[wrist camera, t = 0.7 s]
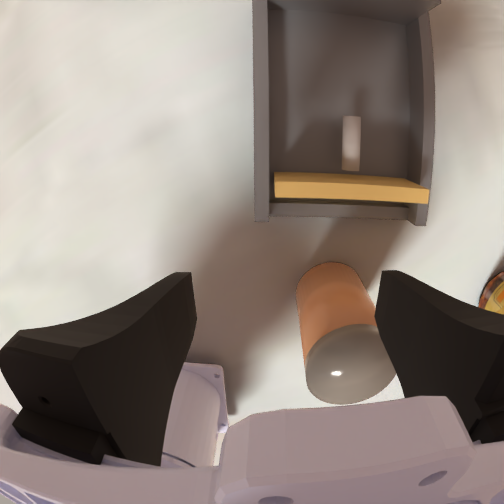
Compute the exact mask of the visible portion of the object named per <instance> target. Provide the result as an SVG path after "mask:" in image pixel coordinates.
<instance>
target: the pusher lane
mask: <svg viewBox="0 0 504 504" xmlns="http://www.w3.org/2000/svg"><path fill="white" fill-rule="evenodd" d="M440 3H441V1H440V0H252V6H253V86H254V186H255V222H269V216H300V217H343V218H373V219H398V220H408V221H410V222H411V223H412V224H414V225H415V226H426V221H427V214H428V207H429V199H430V190H431V180H432V168H433V154H434V134H435V82H434V62H433V49H432V38H431V29H430V21H429V14H428V11H429V10H431V9H432V8H434V7H436V6H437V5H439V4H440ZM343 116H357V117H361V139H360V166H359V171H347V170H342V139H343ZM274 172H304V173H332V174H352V175H368V176H382V177H394V178H404V179H407V180H409V181H411V182H414V183H416V184H418V185H420V186H423V187H425V188H427V189H429V199H428V204H421V203H407V202H392V201H374V200H353V199H326V198H280V197H275V189H274Z"/></svg>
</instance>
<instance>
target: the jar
mask: <svg viewBox="0 0 504 504" xmlns="http://www.w3.org/2000/svg"><path fill="white" fill-rule="evenodd" d="M296 302H297V310H298V317H299V325H300V333H301V340H302V348H303V357H304V365H305V373H306V382H307V386H308V389H309V390H310V392H311V393H312V394H313V395H314V396H315V397H316V398H318V399H319V400H321V401H324V402H327V403H331V404H340V405H341V404H352V403H357V402H360V401H363V400H366V399H368V398H370V397H373V396H374V395H376V394H378V393H379V392H380V391H382V390H383V389H384V388H385V387H387V386H388V384H389V383H390V382H391V381H392V380H393V378H394V377H395V375H396V371H395V369H394V367H393V364H392V362H391V360H390V358H389V356H388V353H387V351H386V349H385V347H384V344H383V342H382V340H381V338H380V335H379V331H378V328H377V324H376V321H375V317H374V315H375V310H376V308H375V306H374V304H373V302H372V300H371V298H370V296H369V294H368V292H367V291H366V289H365V287H364V285H363V283H362V281H361V279H360V278H359V276H358V274H357V273H356V272H355V271H354V270H353V269H352V268H351V267H349V266H347V265H345V264H342V263H338V262H328V263H323V264H319V265H317V266H315V267H313V268H311V269H310V270H309V271H307V272H306V273H305V274H304V275H303V277H302V278H301V279H300V281H299V283H298V285H297V289H296Z"/></svg>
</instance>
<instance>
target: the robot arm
mask: <svg viewBox="0 0 504 504" xmlns="http://www.w3.org/2000/svg"><path fill="white" fill-rule="evenodd" d="M374 317H375V321H376V324H377V328H378V331H379V335H380V338H381V340H382V342H383V344H384V347H385V349H386V351H387V353H388V356H389V358H390V360H391V362H392V364H393V367H394V369H395V371H396V373H397V376H398V378H399V381H400V383H401V386H402V389H403V393H404V397H405V398H403V399H397V400H390V401H383V402H375V403H367V404H358V405H348V406H336V407H321V408H300V409H281V410H275V411H269V412H263V413H256V414H252V415H250V416H248V417H246V418H245V419H243V420H241V421H239V422H237V423H236V424H234V425H232V426H230V427H229V422H228V413H227V403H226V393H225V383H224V373H223V368H222V367H221V366H220V365H215V364H200V363H187V362H185V359H186V356H187V354H188V351H189V348H190V345H191V343H192V340H193V336H194V331H195V326H196V321H197V315H196V307H195V300H194V292H193V284H192V276H191V272H175V273H173V274H171V275H169V276H167V277H165V278H164V279H162V280H160V281H159V282H157V283H155V284H154V285H152V286H150V287H149V288H147V289H146V290H144V291H142V292H140V293H139V294H137V295H135V296H133V297H131V298H130V299H128V300H126V301H124V302H122V303H120V304H118V305H116V306H114V307H112V308H109V309H107V310H105V311H102V312H100V313H97V314H94V315H91V316H88V317H85V318H82V319H79V320H76V321H72V322H68V323H64V324H59V325H55V326H49V327H43V328H34V329H26V330H19V331H18V332H17V333H16V334H15V335H14V336H13V337H12V338H11V339H10V340H9V341H8V342H7V343H6V344H5V345H4V346H3V348H2V349H1V350H0V369H1V372H2V374H3V376H4V378H5V380H6V382H7V383H8V385H9V387H10V388H11V390H12V392H13V393H14V395H15V396H16V398H17V400H18V401H19V403H20V404H21V406H22V407H23V408H22V410H21V411H20V413H19V414H17V413H16V412H15V411H14V410H12V409H11V408H9V407H7V406H5V405H3V404H0V494H2V495H3V496H5V497H6V498H8V499H10V500H11V501H13V502H15V503H16V504H504V314H500V313H496V312H492V311H489V310H485V309H482V308H479V307H476V306H473V305H470V304H468V303H465V302H462V301H460V300H458V299H455V298H453V297H451V296H449V295H447V294H445V293H443V292H441V291H439V290H437V289H435V288H433V287H431V286H429V285H427V284H425V283H423V282H421V281H419V280H417V279H416V278H414V277H412V276H410V275H407V274H405V273H403V272H400V271H397V270H387V271H382V274H381V281H380V287H379V293H378V299H377V304H376V310H375V315H374ZM216 374H219V375H216ZM218 433H226V434H225V437H224V439H223V442H222V447H221V454H220V461H219V466H213V464H214V457H215V451H216V445H217V439H218Z"/></svg>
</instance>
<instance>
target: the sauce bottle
mask: <svg viewBox="0 0 504 504" xmlns="http://www.w3.org/2000/svg"><path fill="white" fill-rule="evenodd" d="M478 307H479V308H482V309H485V310H489V311H492V312H496V313H500V314H504V271H503V272H501V273H500V274H498V275H497V276H496V277H495V278H493V279H491V281H490V282H488V284H487V285H486V287H485V289H484V292H483V294H482V296H481V298H480V301H479V306H478Z"/></svg>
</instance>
